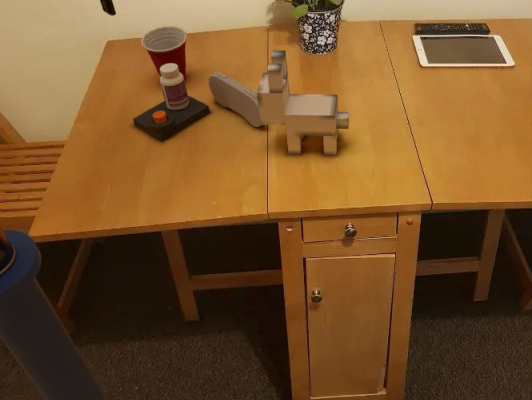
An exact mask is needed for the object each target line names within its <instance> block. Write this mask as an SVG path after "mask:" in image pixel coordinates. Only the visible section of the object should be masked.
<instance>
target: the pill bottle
mask: <svg viewBox="0 0 532 400" xmlns="http://www.w3.org/2000/svg"><path fill="white" fill-rule="evenodd" d="M160 73H161V75H162V76H161V77H160V76H159V83H160V88H161V92H162V96H163V98H164V101H165V102H166V106H167V107H168V108H169V109H171V110H180V109H183V108H185V107H186V106H188V104H189V98H188V96H189V95H188V90H187V86H186V82H185V81H186V80H185V81H184V77H183V75H182V74H181V73H180V72H179V69H178V66H177V65H176V64H173V63H169V64H165V65H163V66H161V67H160Z"/></svg>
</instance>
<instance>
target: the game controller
mask: <svg viewBox="0 0 532 400" xmlns="http://www.w3.org/2000/svg"><path fill="white" fill-rule="evenodd" d="M208 86H209V90H210V93H211V95H212V97H213V98H214V99H215V101H216V102H217V103H218V104H219V105H220V106H221V107H223V108H229V109H231V110H232V111H234V112H236V113H237V114H239V115H240V116H241V117H243V118H244V119H245V120H246V121H247V123H248V124H250V125H251V126H253V127H254V128H259V127H262V126H263V125H261V119H260V112H259V104H258V97H257V91H254V90H252V89H251V88H249V87H247V86H246V85H244V84H243V83H242V82H241V83H240V81H237V80H236V79H234V78H232V77H230V76H229V75H227V74H226V73H223V72H221V71H215V72H214V73H213V74H211V75H210V76H209V78H208Z"/></svg>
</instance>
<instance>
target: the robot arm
mask: <svg viewBox="0 0 532 400" xmlns="http://www.w3.org/2000/svg"><path fill="white" fill-rule="evenodd" d="M99 3H100V6H101V9H102V11H103V12H104V13H106V14H107V15H109V16H111V17H113V16H115V15H117V12H116V8H115V4H114V1H113V0H99ZM16 258H17V252H16V250H15V248H14V246H13V245H12V244H11V242H10V241H9V239H8V238H7V236H6V234H5V233H4V229H3V228H2V226H1V225H0V277H1V276H3V275H4V274H5V273H7V272H8V271H9V270H10V269H11V268H12V266H13V265H14V263H15V261H16Z"/></svg>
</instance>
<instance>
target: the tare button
mask: <svg viewBox="0 0 532 400" xmlns="http://www.w3.org/2000/svg"><path fill="white" fill-rule="evenodd" d="M153 119H154V122H155V123H156V124H162V123H165V122H166V121H167V116H166V113H165V112H164V111H157V112H155V113H153Z"/></svg>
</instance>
